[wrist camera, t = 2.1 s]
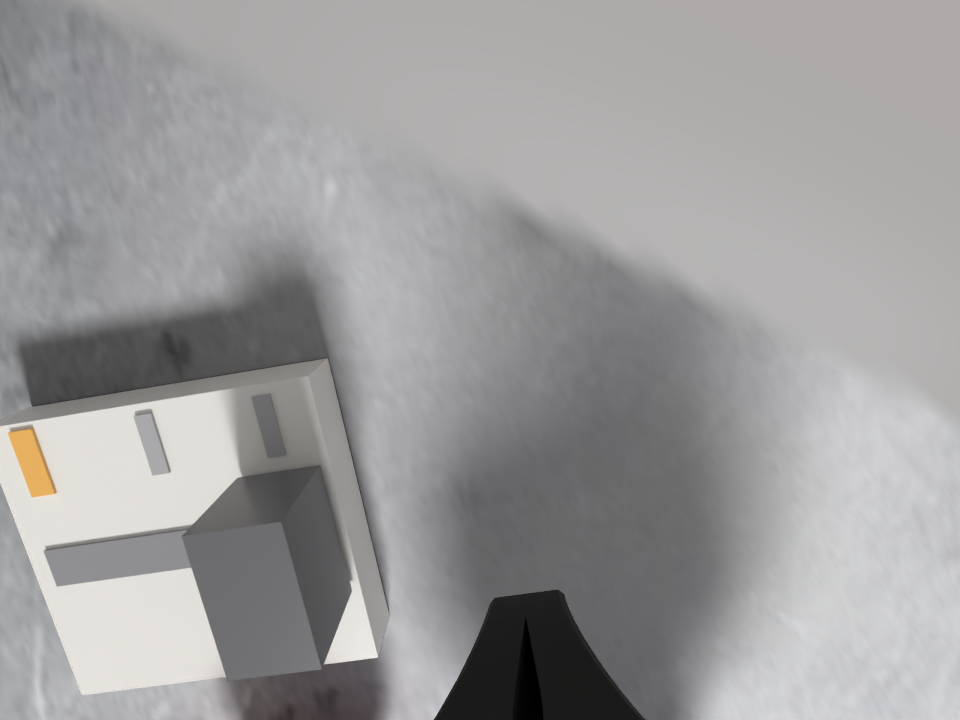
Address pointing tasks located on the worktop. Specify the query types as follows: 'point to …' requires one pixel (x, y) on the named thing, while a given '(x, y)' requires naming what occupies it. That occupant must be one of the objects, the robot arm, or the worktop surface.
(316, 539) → the fader knob
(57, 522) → the console
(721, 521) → the worktop surface
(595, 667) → the robot arm
